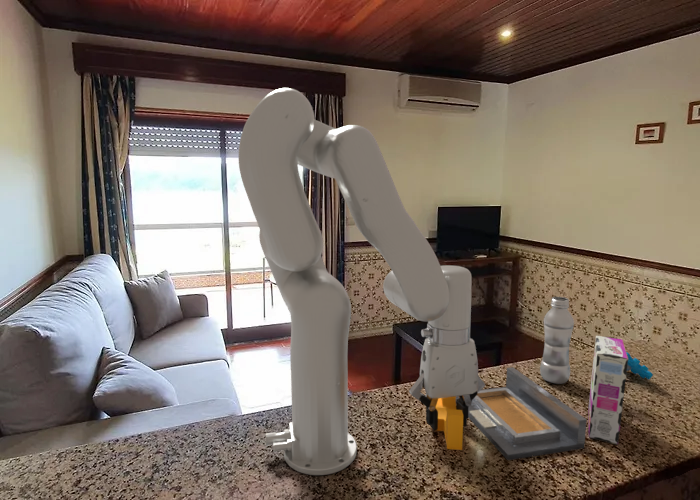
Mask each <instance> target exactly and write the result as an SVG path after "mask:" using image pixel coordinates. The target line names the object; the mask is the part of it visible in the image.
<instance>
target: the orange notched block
mask: <svg viewBox="0 0 700 500" xmlns="http://www.w3.org/2000/svg"><path fill="white" fill-rule="evenodd" d="M436 409H437V411H438V429H437V430H436V431H435V432H437V431H438V432H443V433H444V434H443V435H444V439H445V446H446V449H447V450H454V451H455V450H456V451H457V450H458V451H459V450H460V451H463V440H464V439H463V436H464V435H463V434H464V426H463V412H462V410H456V396H455V397H447V398H438V401H437V404H436Z"/></svg>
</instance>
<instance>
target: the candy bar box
mask: <svg viewBox="0 0 700 500" xmlns="http://www.w3.org/2000/svg"><path fill="white" fill-rule="evenodd" d="M594 341H595V344H594V352H593V360H592V371H591V380H590V390H589V391H590V392H589V400H588V401H589V402H588V412H587V415H588V419H587V420H588V438H590V439H594V440H597V441H602V442H604V443H609V444H613V445H619V440H620V432H621V423H622V416H623V415H622V414H623V408H624V407H623V406H624V399H625V398H624V397H625V389H626V380H627V372H628V371H627V365H628V356H627V353H628V352H627V350H626V346H625V341H624V340H623V339H621V338H616V337H615V338H614V337H610V336H601V335H595V340H594ZM626 352H627V353H626Z"/></svg>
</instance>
